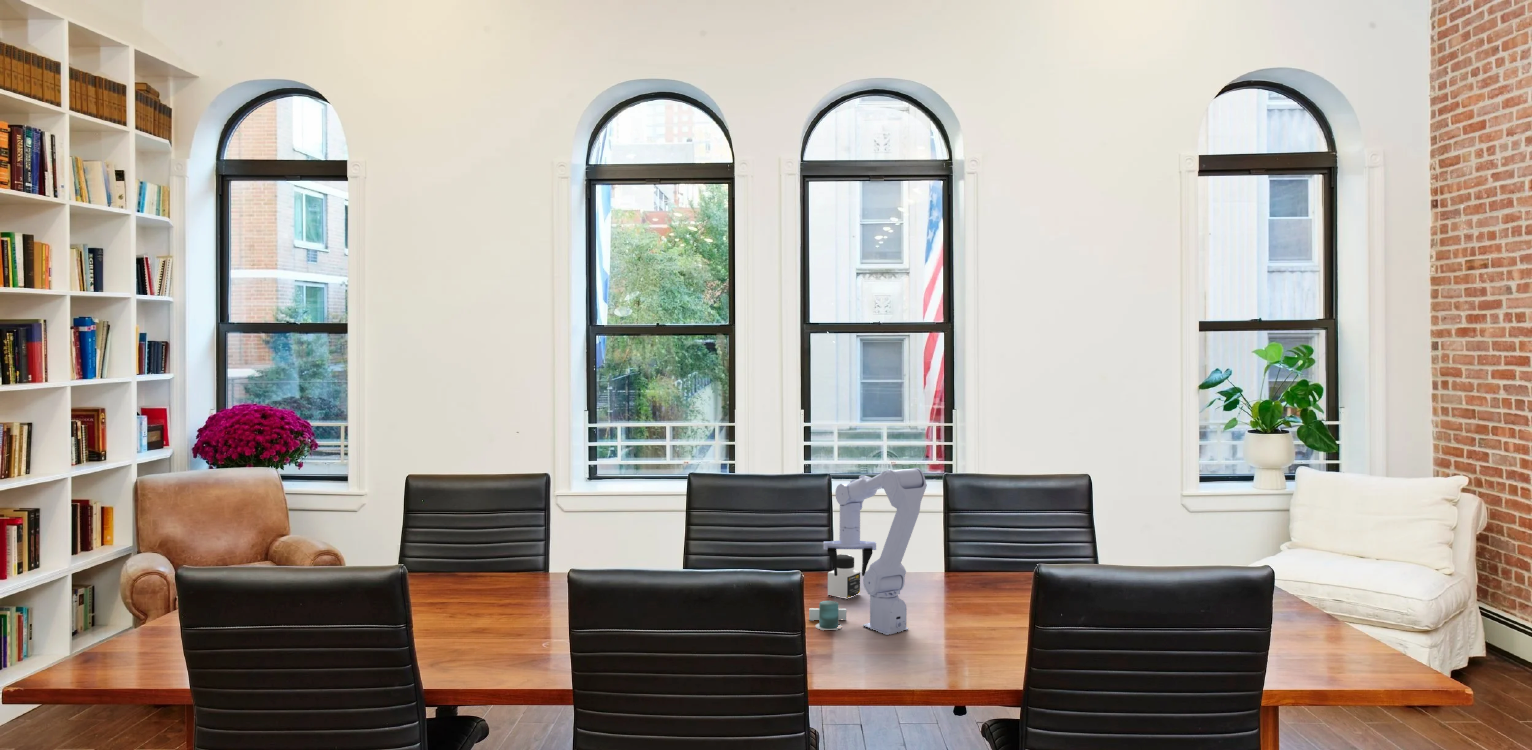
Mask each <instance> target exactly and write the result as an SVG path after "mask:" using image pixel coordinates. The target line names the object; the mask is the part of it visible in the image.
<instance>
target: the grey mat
mask: <svg viewBox="0 0 1532 750" xmlns="http://www.w3.org/2000/svg"><path fill="white" fill-rule="evenodd" d="M838 626H842V627H843V625H842V624H840V625H838ZM815 628H816V629H818V630H819V629H820V631H824V630H836V631H839V630H838V629H840V630H842V628H834V629H825V628H821V627H820V626H819V623H816V624H815Z"/></svg>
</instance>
